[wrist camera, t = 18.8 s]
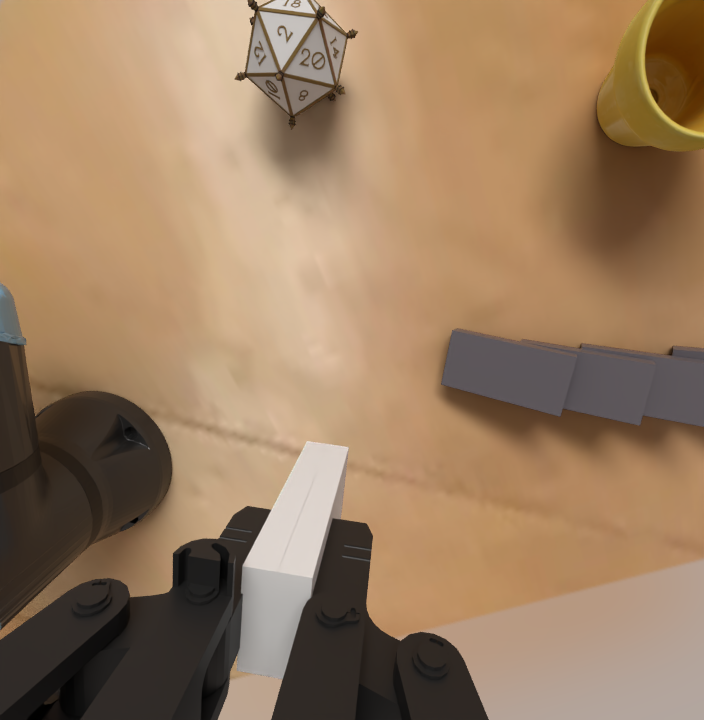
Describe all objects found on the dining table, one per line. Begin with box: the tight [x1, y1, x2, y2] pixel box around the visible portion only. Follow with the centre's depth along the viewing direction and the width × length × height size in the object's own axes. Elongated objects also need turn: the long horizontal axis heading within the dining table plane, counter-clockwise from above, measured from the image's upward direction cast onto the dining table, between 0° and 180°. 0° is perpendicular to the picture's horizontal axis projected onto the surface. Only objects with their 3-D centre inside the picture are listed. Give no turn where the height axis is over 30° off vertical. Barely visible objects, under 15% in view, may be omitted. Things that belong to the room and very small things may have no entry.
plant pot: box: [597, 0, 704, 151], centre depth 30 cm, size 10×10×10 cm
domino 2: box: [520, 339, 656, 426], centre depth 37 cm, size 2×5×10 cm
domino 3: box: [580, 343, 704, 427], centre depth 37 cm, size 2×5×10 cm
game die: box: [235, 0, 358, 130], centre depth 33 cm, size 9×8×10 cm
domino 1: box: [441, 329, 577, 417], centre depth 38 cm, size 2×5×10 cm
